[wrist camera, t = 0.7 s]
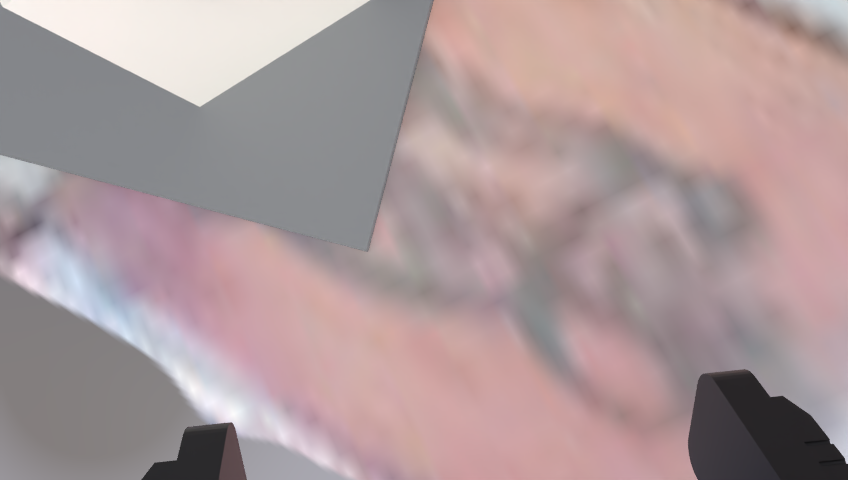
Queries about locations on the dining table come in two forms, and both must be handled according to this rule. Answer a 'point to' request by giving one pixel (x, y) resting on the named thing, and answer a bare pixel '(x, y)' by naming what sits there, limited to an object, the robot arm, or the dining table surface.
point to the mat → (227, 123)
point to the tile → (186, 35)
